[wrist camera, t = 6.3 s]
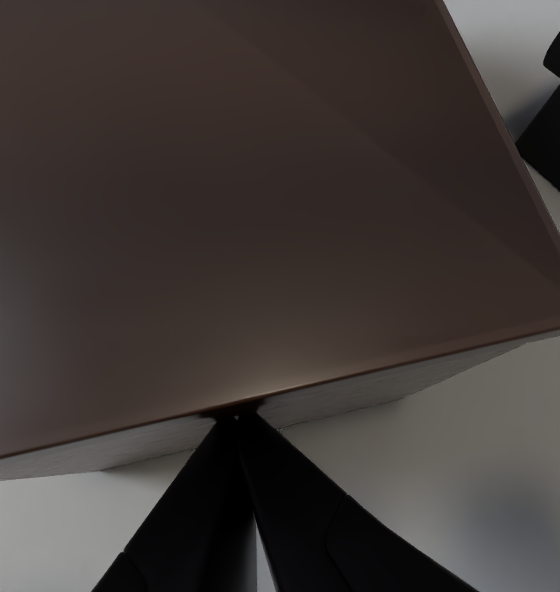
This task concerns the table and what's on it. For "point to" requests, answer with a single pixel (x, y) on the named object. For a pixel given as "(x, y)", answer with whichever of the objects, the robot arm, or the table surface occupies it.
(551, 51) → the digital camera
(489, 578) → the table surface
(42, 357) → the brown box
